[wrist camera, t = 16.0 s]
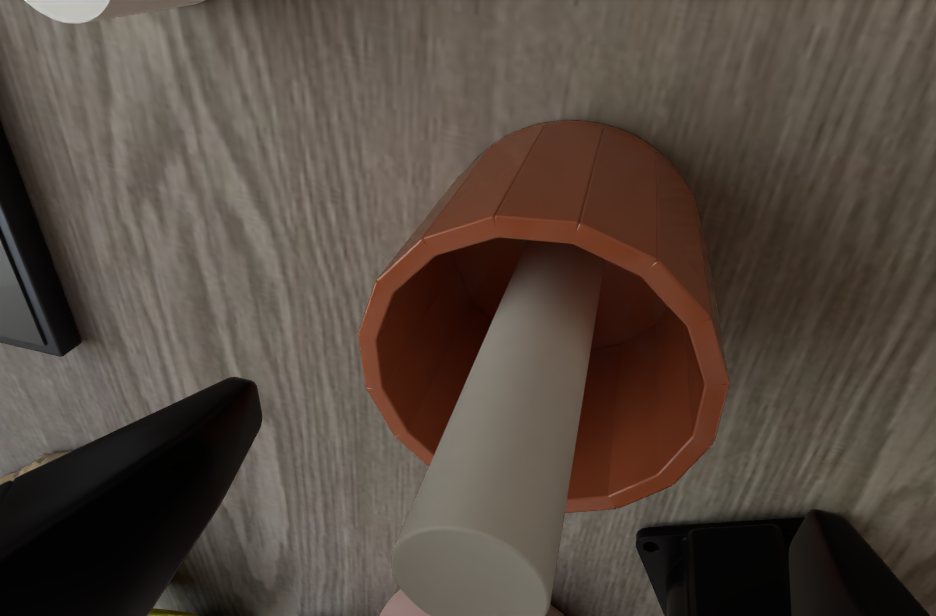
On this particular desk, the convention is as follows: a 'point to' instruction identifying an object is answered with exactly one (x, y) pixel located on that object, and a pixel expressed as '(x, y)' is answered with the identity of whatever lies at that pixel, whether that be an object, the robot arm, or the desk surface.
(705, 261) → the pen cup
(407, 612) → the mug
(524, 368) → the plain white cylinder
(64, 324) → the tablet
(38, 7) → the u-slot mount
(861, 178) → the desk surface
